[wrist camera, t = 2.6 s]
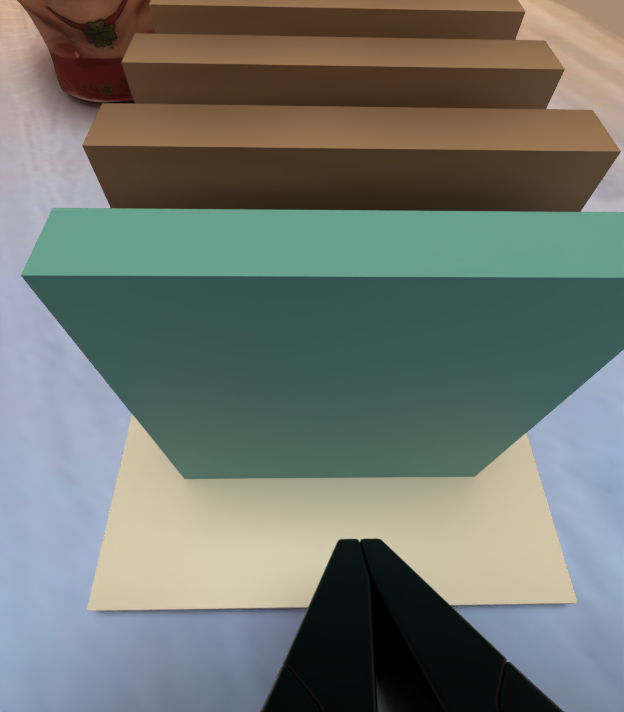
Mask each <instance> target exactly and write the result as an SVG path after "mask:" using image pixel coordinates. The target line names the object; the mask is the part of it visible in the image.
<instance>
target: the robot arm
mask: <svg viewBox="0 0 624 712" xmlns="http://www.w3.org/2000/svg"><path fill="white" fill-rule="evenodd" d="M260 712H564V711H563V710H562V709H560V708H559V707H558V706H557V705H556V704H555V703H554V702H553V701H552V700H551V699H549V698H548V697H547V696H546V695H545V694H544V693H543V692H542V691H541V690H540V689H538V688H537V687H536V686H535V685H534V684H533V683H532V682H531V681H530V680H529V679H528V678H527V677H525V676H524V675H523V674H522V673H521V672H520V671H519V670H518V669H517V668H516V667H515V666H514V665H513V664H512V663H511V662H507V660H506V658H505V657H504V656H503V655H502V654H501V653H500V652H499V651H498V650H497V649H496V648H495V647H494V646H493V645H492V644H491V643H490V642H488V641H487V640H486V639H485V638H484V637H483V636H482V635H481V634H480V633H479V632H478V631H477V630H476V629H475V628H474V627H473V626H472V625H471V624H470V623H469V622H467V621H466V620H465V619H464V618H463V617H462V616H461V615H460V614H459V613H458V612H457V611H456V610H455V609H454V608H453V607H452V606H451V605H450V604H449V603H448V602H446V601H445V600H444V599H443V598H442V597H441V596H440V595H439V594H438V593H437V592H436V591H435V590H434V589H433V588H432V587H431V586H430V585H429V584H428V583H427V582H425V581H424V580H423V579H422V578H421V577H420V576H419V575H418V574H417V573H416V572H415V571H414V570H413V569H412V568H411V567H410V566H409V565H408V564H407V563H406V562H404V561H403V560H402V559H401V558H400V557H399V556H398V555H397V554H396V553H395V552H394V551H393V550H392V549H391V548H390V547H389V546H388V545H387V544H386V543H385V542H383V541H382V540H381V539H378V538H374V539H361V540H360V542H359V540H358V539H339V540H338V541H337V543H336V546H335V548H334V550H333V552H332V555H331V557H330V559H329V561H328V564H327V566H326V568H325V570H324V573H323V575H322V577H321V579H320V582H319V584H318V586H317V588H316V591H315V593H314V595H313V597H312V600H311V602H310V604H309V606H308V609H307V611H306V613H305V615H304V618H303V620H302V622H301V624H300V627H299V629H298V631H297V633H296V636H295V638H294V640H293V642H292V645H291V647H290V649H289V651H288V654H287V656H286V658H285V660H284V663H283V666H282V667H281V669H280V671H279V673H278V675H277V678H276V680H275V682H274V684H273V687H272V689H271V691H270V693H269V695H268V697H267V699H266V701H265V703H264V705H263V707H262V709H261V711H260Z"/></svg>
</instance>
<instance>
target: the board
mask: <svg viewBox="0 0 624 712" xmlns="http://www.w3.org/2000/svg"><path fill="white" fill-rule="evenodd" d="M374 538H378V539H381V540H382V541H383V542H385V543H386V544H387V545H388V546H389V547H390V548H391V549H392V550H393V551H394V552H395V553H396V554H397V555H398V556H399V557H400V558H401V559H402V560H403V561H404V562H406V563H407V564H408V565H409V566H410V567H411V568H412V569H413V570H414V571H415V572H416V573H417V574H418V575H419V576H420V577H421V578H422V579H423V580H424V581H425V582H427V583H428V584H429V585H430V586H431V587H432V588H433V589H434V590H435V591H436V592H437V593H438V594H439V595H440V596H441V597H442V598H443V599H444V600H445V601H446V602H448V603H449V604H450V605H451V606H461V605H525V604H570V603H577V600H576V596H575V593H574V590H573V586H572V583H571V580H570V576H569V573H568V570H567V566H566V563H565V560H564V556H563V553H562V550H561V546H560V543H559V540H558V536H557V533H556V530H555V526H554V523H553V520H552V516H551V513H550V510H549V506H548V503H547V500H546V496H545V493H544V490H543V486H542V483H541V480H540V476H539V473H538V470H537V466H536V463H535V460H534V456H533V453H532V450H531V446H530V443H529V440H528V436H527V433H525V434H524V435H523V436H522V437H521V438H519V439H518V440H517V441H516V442H515V443H514V444H512V445H511V446H510V447H509V448H508V449H507V450H505V451H504V452H503V453H502V454H501V455H500V456H498V457H497V458H496V459H495V460H494V461H493V462H491V463H490V464H489V465H488V466H487V467H486V468H484V469H483V470H482V471H481V472H480V473H479V474H477V475H476V476H475V477H374V478H248V479H184V478H183V477H182V475H181V474H180V473H179V472H178V470H177V469H176V468H175V467H174V465H173V464H172V463H171V462H170V460H169V459H168V458H167V457H166V455H165V454H164V453H163V452H162V450H161V449H160V448H159V447H158V445H157V444H156V443H155V442H154V440H153V439H152V438H151V437H150V435H149V434H148V433H147V432H146V431H145V429H144V428H143V427H142V426H141V424H140V423H139V422H138V421H137V419H136V418H135V417H134V416H133V414H132V416H131V421H130V425H129V429H128V434H127V438H126V442H125V447H124V451H123V455H122V460H121V464H120V468H119V473H118V477H117V481H116V486H115V490H114V494H113V499H112V503H111V507H110V512H109V516H108V520H107V525H106V529H105V533H104V538H103V542H102V546H101V551H100V555H99V559H98V564H97V568H96V572H95V577H94V581H93V585H92V590H91V594H90V598H89V603H88V607H87V611H139V610H203V609H267V608H308V606H309V604H310V602H311V600H312V597H313V595H314V593H315V591H316V588H317V586H318V584H319V582H320V579H321V577H322V575H323V573H324V570H325V568H326V566H327V564H328V561H329V559H330V557H331V555H332V552H333V550H334V548H335V546H336V543H337V541H338V540H339V539H358V540H359V542H360V540H361V539H374Z"/></svg>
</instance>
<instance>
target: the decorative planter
mask: <svg viewBox="0 0 624 712" xmlns="http://www.w3.org/2000/svg"><path fill="white" fill-rule="evenodd" d="M17 1H18V2H19V3H20V4H21V5H22V6H23V7H24V9H25V10H26V11H27V13H28V14H29V16H30V17H31V19H32V21H33V22H34V24H35V25H36V27H37V29H38V30H39V32H40V34H41V36H42V38H43V40H44V41H45V43H46V45H47V47H48V49H49V51H50V54H51V57H52V60H53V63H54V67H55V71H56V75H57V78H58V81H59V84H60V86H61V88H62V90H63V91H65V92H67V93H69V94H71V95H73V96H75V97H77V98H80V99H83V100H87V101H93V102H116V101H128V100H133V97H132V94H131V91H130V88H129V85H128V82H127V78H126V75H125V72H124V69H123V66H122V63H121V62H122V60H123V58H124V56H125V53H126V51H127V49H128V47H129V45H130V43H131V41H132V39H133V36H134V34H135V33H141V34H156V32H155V28H154V24H153V19H152V15H151V11H150V7H149V3H150V1H151V0H17Z"/></svg>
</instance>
